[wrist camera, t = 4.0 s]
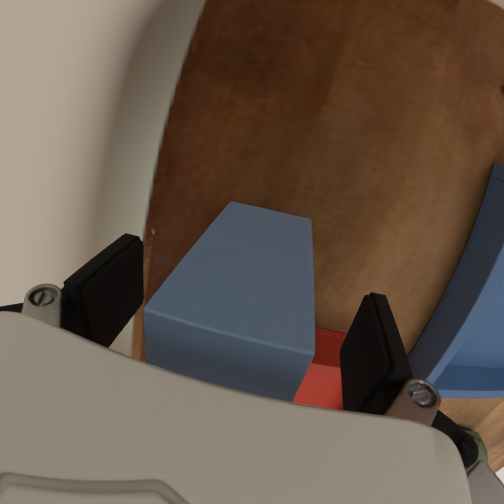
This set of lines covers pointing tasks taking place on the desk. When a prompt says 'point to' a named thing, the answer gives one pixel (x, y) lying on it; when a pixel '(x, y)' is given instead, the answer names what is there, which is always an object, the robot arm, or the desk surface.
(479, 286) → the blue tray
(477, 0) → the desk surface
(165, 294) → the blue block
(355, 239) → the desk surface
